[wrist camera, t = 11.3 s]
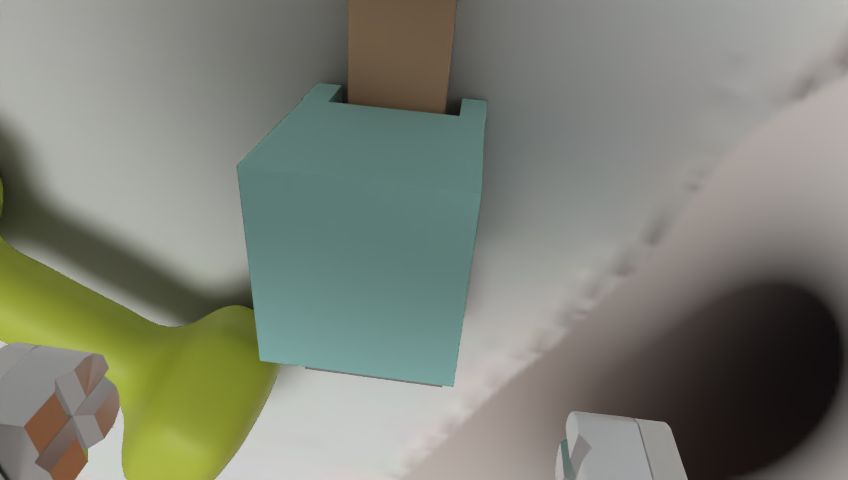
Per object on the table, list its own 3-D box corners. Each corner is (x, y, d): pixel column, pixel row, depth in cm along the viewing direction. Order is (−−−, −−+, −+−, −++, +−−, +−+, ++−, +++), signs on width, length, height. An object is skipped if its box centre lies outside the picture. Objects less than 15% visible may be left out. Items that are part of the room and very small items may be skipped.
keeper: (318, 82, 18) (234, 165, 12) (487, 100, 18) (483, 194, 12) (322, 236, 21) (258, 360, 15) (465, 254, 21) (455, 387, 15)
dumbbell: (-88, 227, 24) (-291, 339, 17) (-64, 79, 20) (-314, 156, 14) (246, 402, 27) (175, 545, 21) (321, 307, 23) (261, 447, 17)
